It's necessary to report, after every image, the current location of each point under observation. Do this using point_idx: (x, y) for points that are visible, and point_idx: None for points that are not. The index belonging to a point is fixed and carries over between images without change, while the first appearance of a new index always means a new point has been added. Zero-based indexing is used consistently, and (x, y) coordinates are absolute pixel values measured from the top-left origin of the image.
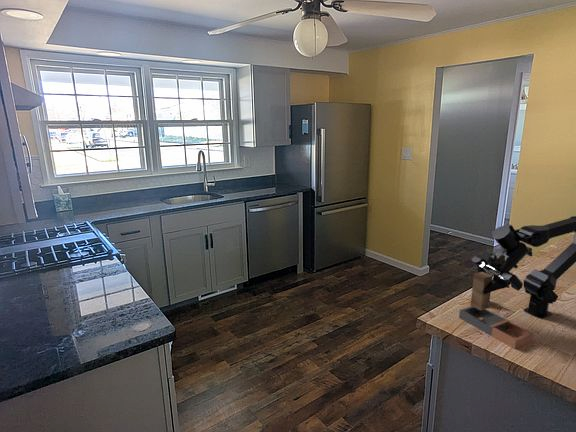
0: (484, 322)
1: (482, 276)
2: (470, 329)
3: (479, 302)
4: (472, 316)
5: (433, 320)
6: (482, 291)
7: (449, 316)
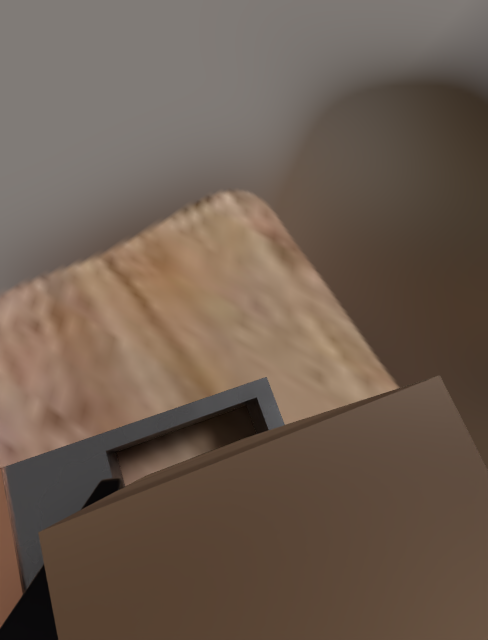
0: (62, 458)
1: (207, 550)
2: (112, 380)
3: (164, 469)
4: (165, 416)
5: (240, 233)
6: (120, 482)
7: (272, 337)
